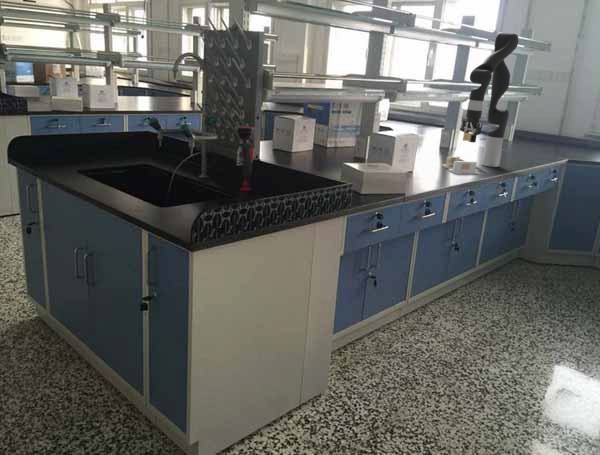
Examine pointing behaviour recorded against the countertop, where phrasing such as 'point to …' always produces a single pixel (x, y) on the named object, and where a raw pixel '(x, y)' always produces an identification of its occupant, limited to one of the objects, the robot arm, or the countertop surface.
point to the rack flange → (464, 167)
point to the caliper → (476, 167)
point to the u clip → (467, 137)
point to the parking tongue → (450, 162)
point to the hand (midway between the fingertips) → (469, 141)
